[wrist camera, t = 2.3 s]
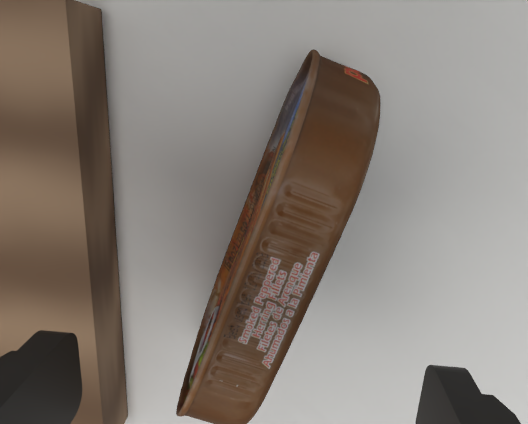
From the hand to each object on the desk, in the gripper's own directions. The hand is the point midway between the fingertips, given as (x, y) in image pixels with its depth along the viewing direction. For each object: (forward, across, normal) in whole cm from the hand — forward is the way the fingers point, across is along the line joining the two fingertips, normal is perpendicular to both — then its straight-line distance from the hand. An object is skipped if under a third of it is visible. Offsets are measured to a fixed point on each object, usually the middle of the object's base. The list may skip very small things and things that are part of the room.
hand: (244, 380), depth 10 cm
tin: (+12, 0, 0) cm, 12 cm away
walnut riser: (+12, +13, +2) cm, 18 cm away
